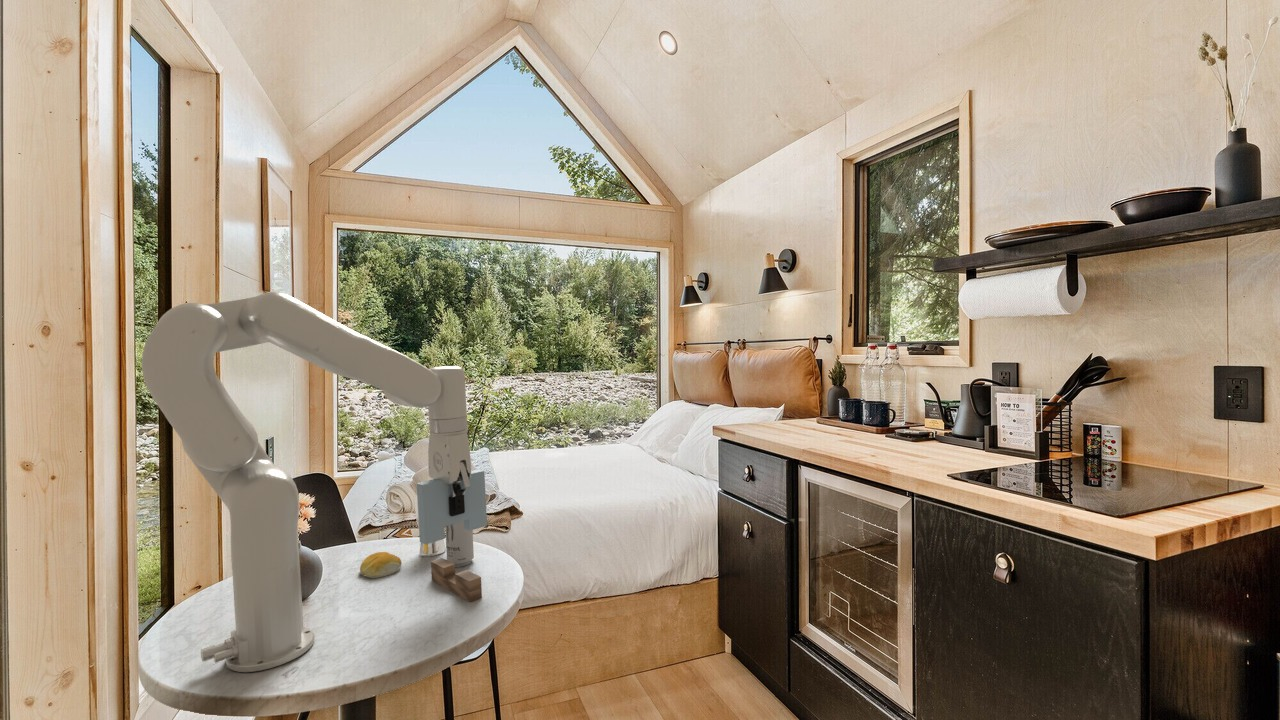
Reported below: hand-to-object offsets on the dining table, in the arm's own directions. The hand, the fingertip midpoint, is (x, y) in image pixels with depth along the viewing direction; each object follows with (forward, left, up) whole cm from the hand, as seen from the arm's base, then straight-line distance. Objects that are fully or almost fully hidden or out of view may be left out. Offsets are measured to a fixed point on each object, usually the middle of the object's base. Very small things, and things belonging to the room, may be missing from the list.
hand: (453, 512), depth 119 cm
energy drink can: (+8, +12, -16) cm, 22 cm away
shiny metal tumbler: (+7, +24, -16) cm, 30 cm away
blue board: (0, 0, -4) cm, 4 cm away
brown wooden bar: (0, 0, -16) cm, 16 cm away
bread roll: (-6, +23, -17) cm, 29 cm away
